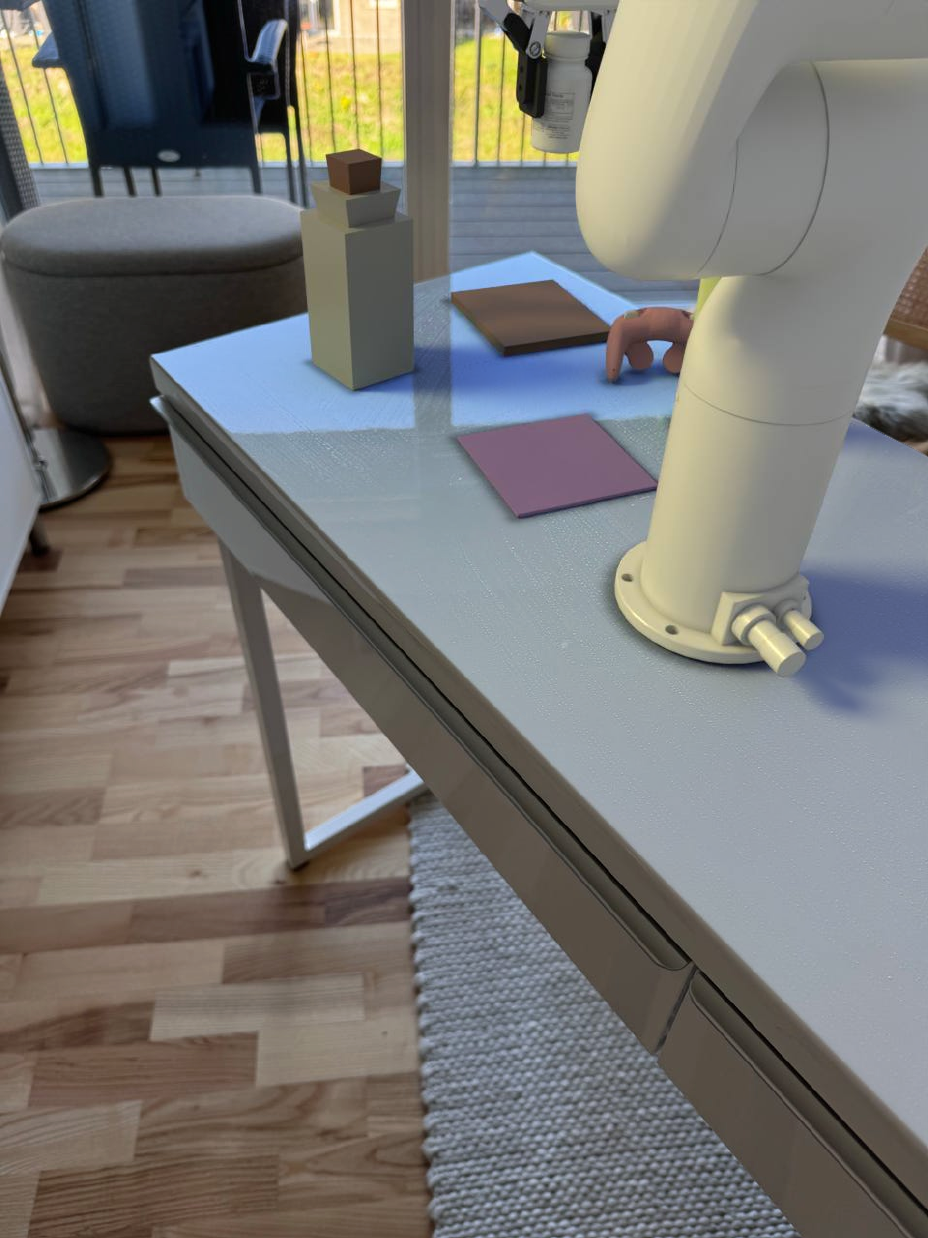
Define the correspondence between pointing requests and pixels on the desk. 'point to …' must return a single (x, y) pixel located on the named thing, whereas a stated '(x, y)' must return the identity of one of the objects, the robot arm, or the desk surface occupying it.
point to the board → (530, 317)
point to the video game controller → (648, 338)
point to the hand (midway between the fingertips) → (560, 108)
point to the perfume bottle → (359, 273)
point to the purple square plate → (555, 464)
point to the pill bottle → (564, 93)
